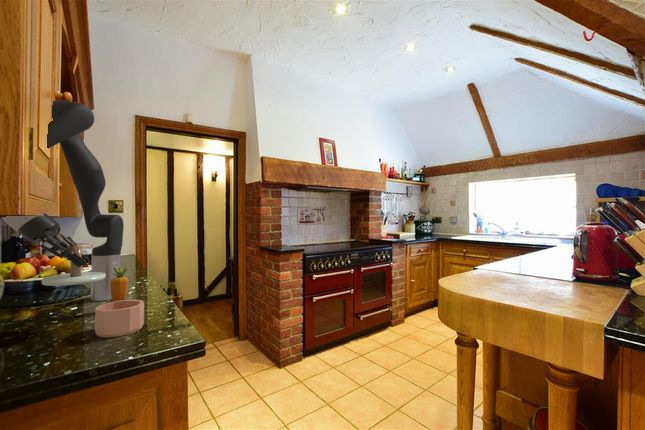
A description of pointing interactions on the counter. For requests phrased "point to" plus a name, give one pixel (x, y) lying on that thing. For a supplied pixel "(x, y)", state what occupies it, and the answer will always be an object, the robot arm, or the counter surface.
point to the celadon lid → (74, 274)
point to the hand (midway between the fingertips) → (84, 264)
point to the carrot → (119, 285)
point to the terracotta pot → (119, 318)
